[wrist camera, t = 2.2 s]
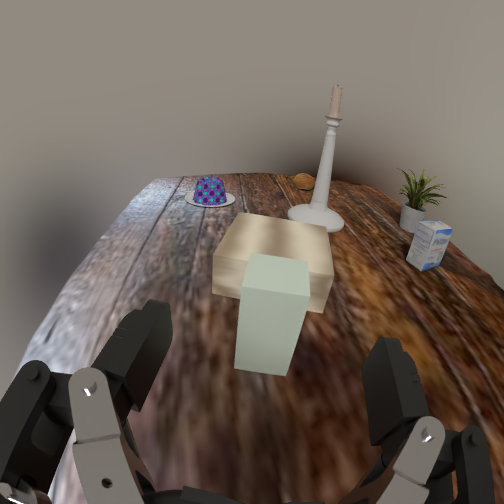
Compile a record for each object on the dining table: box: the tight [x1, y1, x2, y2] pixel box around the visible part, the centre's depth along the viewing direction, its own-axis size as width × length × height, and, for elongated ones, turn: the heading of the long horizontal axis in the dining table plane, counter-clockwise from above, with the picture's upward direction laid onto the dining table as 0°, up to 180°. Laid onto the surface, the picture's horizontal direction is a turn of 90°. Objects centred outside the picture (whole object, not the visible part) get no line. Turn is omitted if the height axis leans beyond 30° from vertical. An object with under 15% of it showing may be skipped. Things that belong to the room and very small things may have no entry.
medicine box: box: [406, 221, 452, 271], centre depth 45 cm, size 8×4×9 cm, turn 112°
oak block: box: [212, 212, 334, 313], centre depth 38 cm, size 14×14×6 cm
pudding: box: [185, 177, 235, 207], centre depth 63 cm, size 12×12×5 cm
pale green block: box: [234, 253, 310, 376], centre depth 24 cm, size 5×5×10 cm
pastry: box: [293, 173, 315, 190], centre depth 82 cm, size 9×7×4 cm
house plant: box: [399, 170, 446, 233], centre depth 58 cm, size 14×14×16 cm
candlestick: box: [288, 86, 344, 232], centre depth 53 cm, size 13×13×30 cm
